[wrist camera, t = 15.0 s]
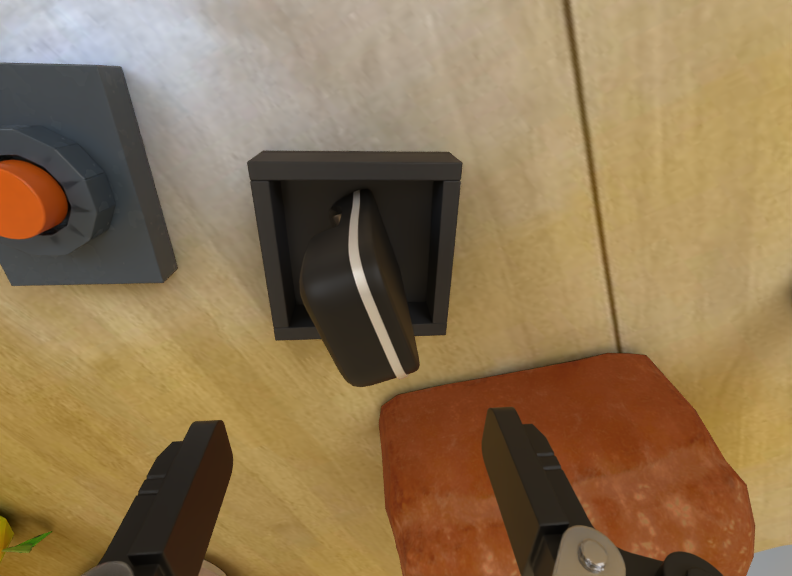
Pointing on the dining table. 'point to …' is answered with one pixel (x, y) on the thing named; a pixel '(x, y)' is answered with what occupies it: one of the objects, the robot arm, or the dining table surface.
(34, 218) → the power button
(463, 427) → the bread
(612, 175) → the dining table surface
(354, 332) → the battery charger
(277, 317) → the dock
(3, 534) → the apple
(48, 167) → the switch box
